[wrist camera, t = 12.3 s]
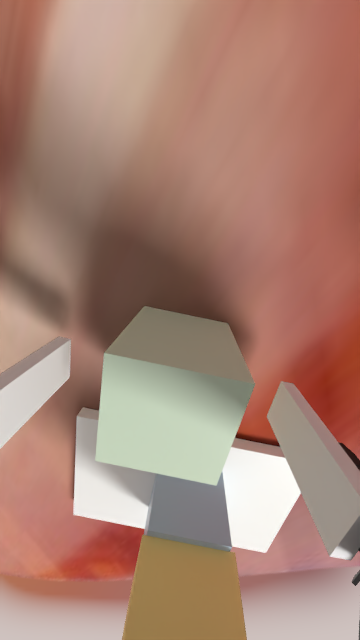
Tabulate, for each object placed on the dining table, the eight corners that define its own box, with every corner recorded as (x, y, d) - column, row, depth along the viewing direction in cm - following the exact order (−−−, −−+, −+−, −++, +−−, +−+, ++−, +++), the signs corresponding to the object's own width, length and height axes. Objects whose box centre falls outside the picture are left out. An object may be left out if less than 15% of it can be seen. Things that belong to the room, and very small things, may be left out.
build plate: (82, 407, 18) (31, 480, 12) (310, 453, 18) (364, 547, 12) (78, 503, 22) (39, 590, 17) (262, 540, 22) (286, 639, 17)
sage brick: (144, 305, 15) (104, 352, 8) (227, 322, 15) (255, 384, 8) (134, 376, 17) (95, 461, 10) (207, 391, 17) (216, 485, 10)
